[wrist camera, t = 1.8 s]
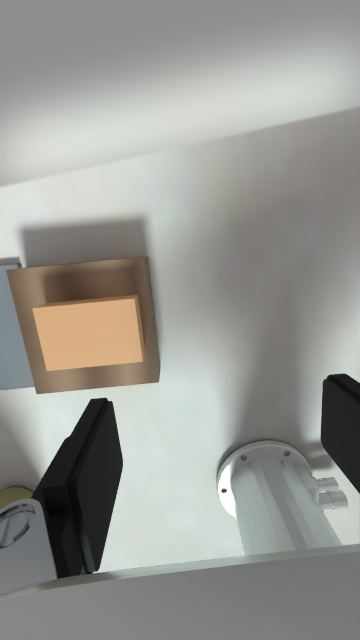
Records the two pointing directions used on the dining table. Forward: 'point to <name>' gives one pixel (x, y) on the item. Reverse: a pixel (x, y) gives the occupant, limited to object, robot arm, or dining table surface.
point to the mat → (11, 340)
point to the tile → (90, 332)
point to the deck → (80, 285)
